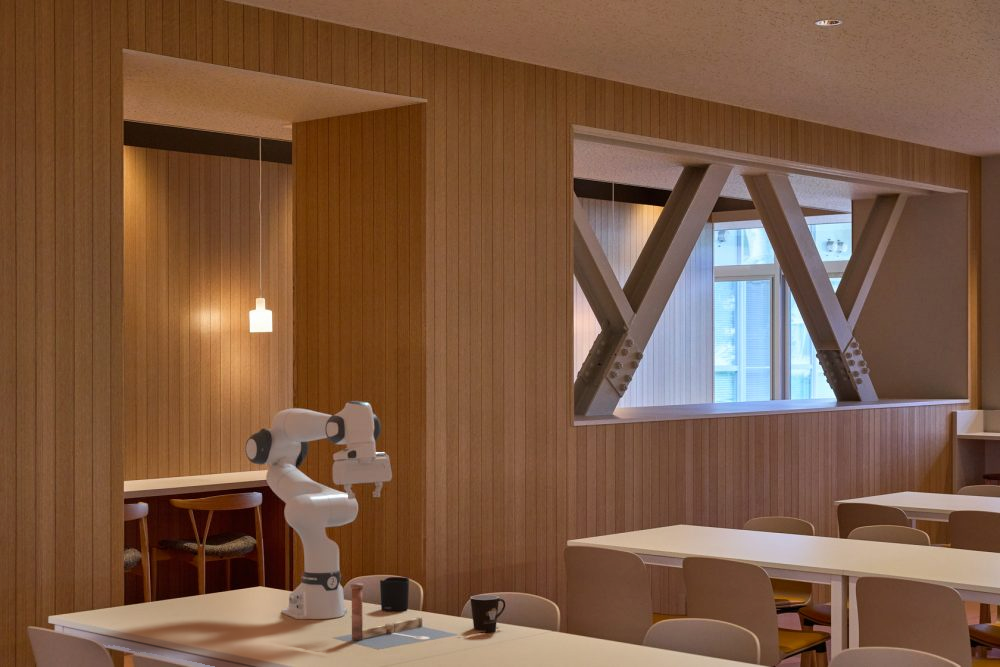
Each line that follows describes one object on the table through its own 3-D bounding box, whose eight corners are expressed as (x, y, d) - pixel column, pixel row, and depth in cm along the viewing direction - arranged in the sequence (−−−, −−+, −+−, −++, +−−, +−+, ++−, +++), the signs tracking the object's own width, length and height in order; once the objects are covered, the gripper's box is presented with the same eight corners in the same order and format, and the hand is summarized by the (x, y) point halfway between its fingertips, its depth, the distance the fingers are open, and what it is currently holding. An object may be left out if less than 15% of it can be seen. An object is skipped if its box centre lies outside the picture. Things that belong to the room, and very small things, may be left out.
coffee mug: (474, 634, 366) (474, 600, 366) (467, 629, 374) (467, 595, 375) (512, 632, 369) (512, 598, 369) (504, 627, 377) (504, 593, 378)
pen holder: (376, 608, 410) (376, 578, 410) (403, 606, 414) (403, 576, 414) (385, 613, 402) (385, 582, 402) (413, 611, 405) (413, 580, 406)
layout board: (332, 640, 359) (332, 637, 359) (411, 626, 378) (411, 623, 378) (378, 652, 343) (378, 648, 343) (458, 637, 362) (458, 634, 362)
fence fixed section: (389, 634, 363) (389, 625, 364) (383, 633, 365) (383, 624, 365) (424, 626, 375) (424, 618, 375) (418, 625, 376) (418, 617, 377)
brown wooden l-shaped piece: (380, 632, 365) (380, 578, 366) (389, 633, 363) (389, 580, 363) (348, 639, 355) (348, 584, 356) (356, 640, 353) (356, 585, 353)
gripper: (382, 452, 394) (385, 496, 392) (328, 455, 380) (331, 500, 378) (394, 450, 389) (397, 495, 387) (340, 453, 375) (343, 499, 374)
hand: (364, 498), depth 383 cm, fingers open, 8 cm apart
